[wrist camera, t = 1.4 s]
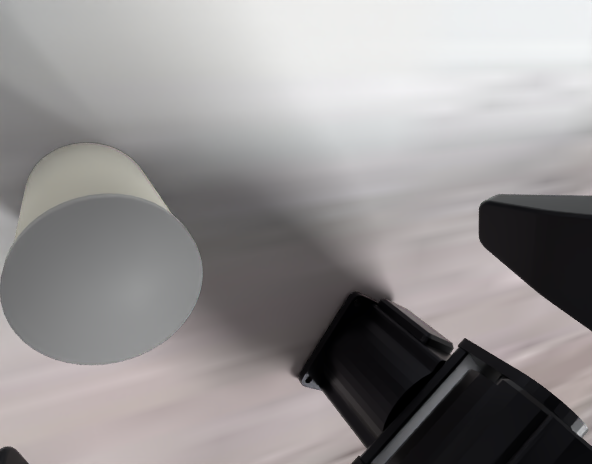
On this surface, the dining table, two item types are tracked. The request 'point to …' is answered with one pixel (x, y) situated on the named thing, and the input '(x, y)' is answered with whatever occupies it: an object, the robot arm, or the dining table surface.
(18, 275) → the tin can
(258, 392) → the dining table surface
